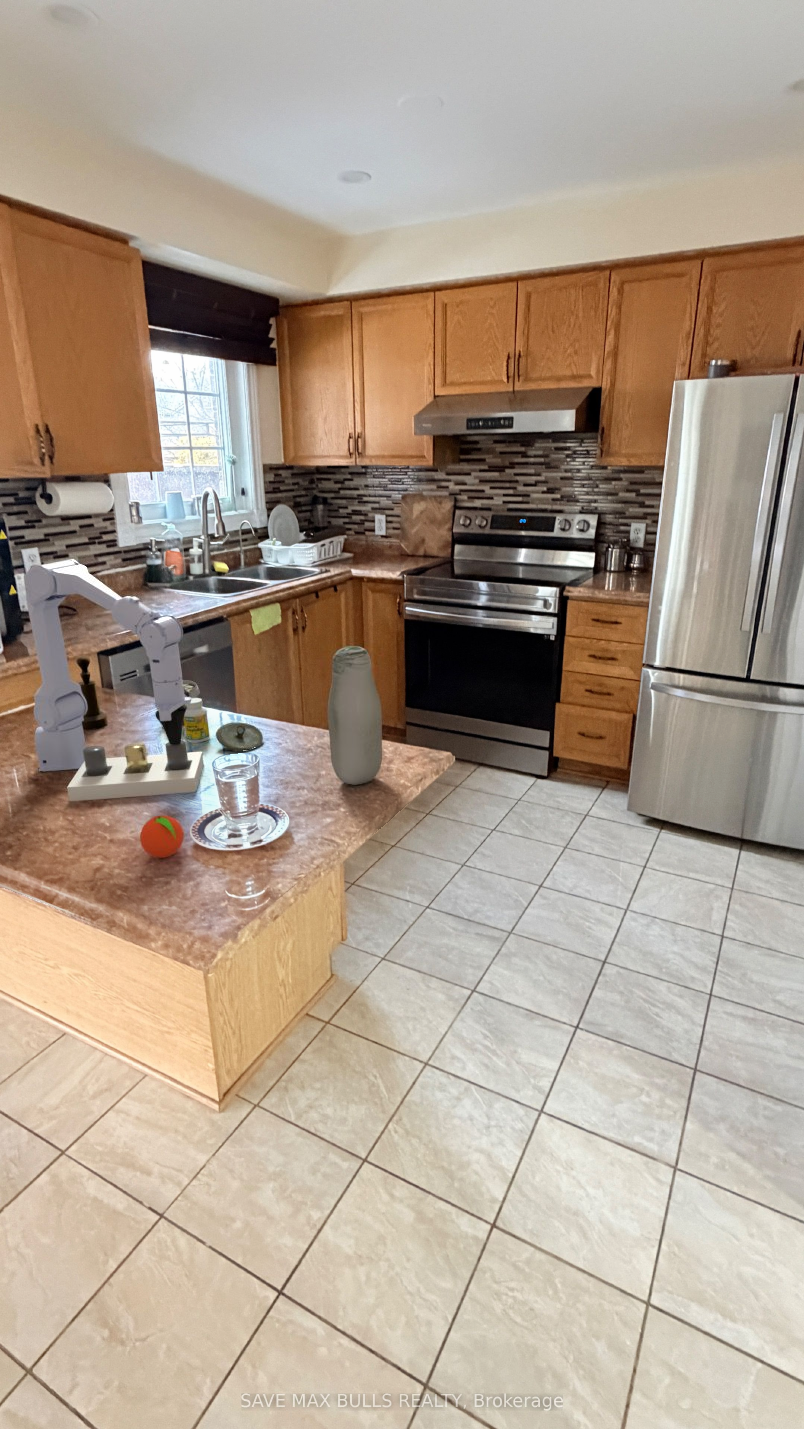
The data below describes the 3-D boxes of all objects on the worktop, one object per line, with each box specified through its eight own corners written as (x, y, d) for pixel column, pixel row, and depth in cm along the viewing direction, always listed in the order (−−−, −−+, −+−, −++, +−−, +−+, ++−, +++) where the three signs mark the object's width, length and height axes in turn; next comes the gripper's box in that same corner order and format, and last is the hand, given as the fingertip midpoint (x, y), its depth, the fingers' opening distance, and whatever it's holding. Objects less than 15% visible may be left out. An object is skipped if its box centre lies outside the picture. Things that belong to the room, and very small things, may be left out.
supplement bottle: (210, 734, 180) (206, 696, 176) (208, 742, 174) (204, 703, 171) (187, 735, 179) (183, 697, 176) (184, 744, 174) (179, 704, 171)
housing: (69, 801, 146) (67, 787, 145) (87, 772, 159) (85, 759, 158) (196, 791, 149) (194, 777, 148) (203, 764, 162) (202, 751, 161)
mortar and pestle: (81, 722, 189) (69, 653, 184) (108, 719, 191) (97, 650, 185) (78, 731, 183) (66, 659, 178) (107, 728, 185) (95, 657, 179)
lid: (247, 733, 180) (245, 713, 178) (272, 743, 173) (270, 723, 171) (208, 746, 173) (206, 725, 171) (233, 756, 166) (231, 735, 164)
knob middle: (126, 774, 151) (122, 751, 149) (130, 766, 155) (126, 743, 153) (146, 772, 151) (143, 749, 150) (150, 764, 155) (146, 742, 154)
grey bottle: (350, 768, 159) (344, 638, 149) (391, 777, 154) (388, 644, 144) (322, 785, 151) (314, 649, 141) (365, 796, 146) (359, 656, 136)
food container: (213, 721, 188) (209, 683, 185) (195, 729, 183) (190, 690, 180) (179, 714, 194) (174, 676, 191) (160, 721, 189) (155, 683, 186)
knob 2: (167, 771, 152) (163, 748, 150) (170, 763, 156) (167, 741, 154) (187, 769, 152) (184, 746, 151) (189, 762, 156) (187, 739, 155)
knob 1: (84, 777, 150) (80, 753, 148) (89, 769, 154) (85, 746, 152) (105, 775, 150) (101, 752, 149) (109, 767, 154) (106, 745, 153)
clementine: (197, 855, 125) (193, 817, 123) (160, 872, 120) (155, 833, 118) (171, 840, 130) (166, 803, 128) (134, 856, 125) (128, 818, 123)
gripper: (183, 688, 142) (191, 754, 146) (192, 667, 155) (199, 729, 160) (144, 690, 141) (153, 757, 145) (157, 669, 154) (165, 731, 159)
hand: (175, 742), depth 152 cm, fingers closed
